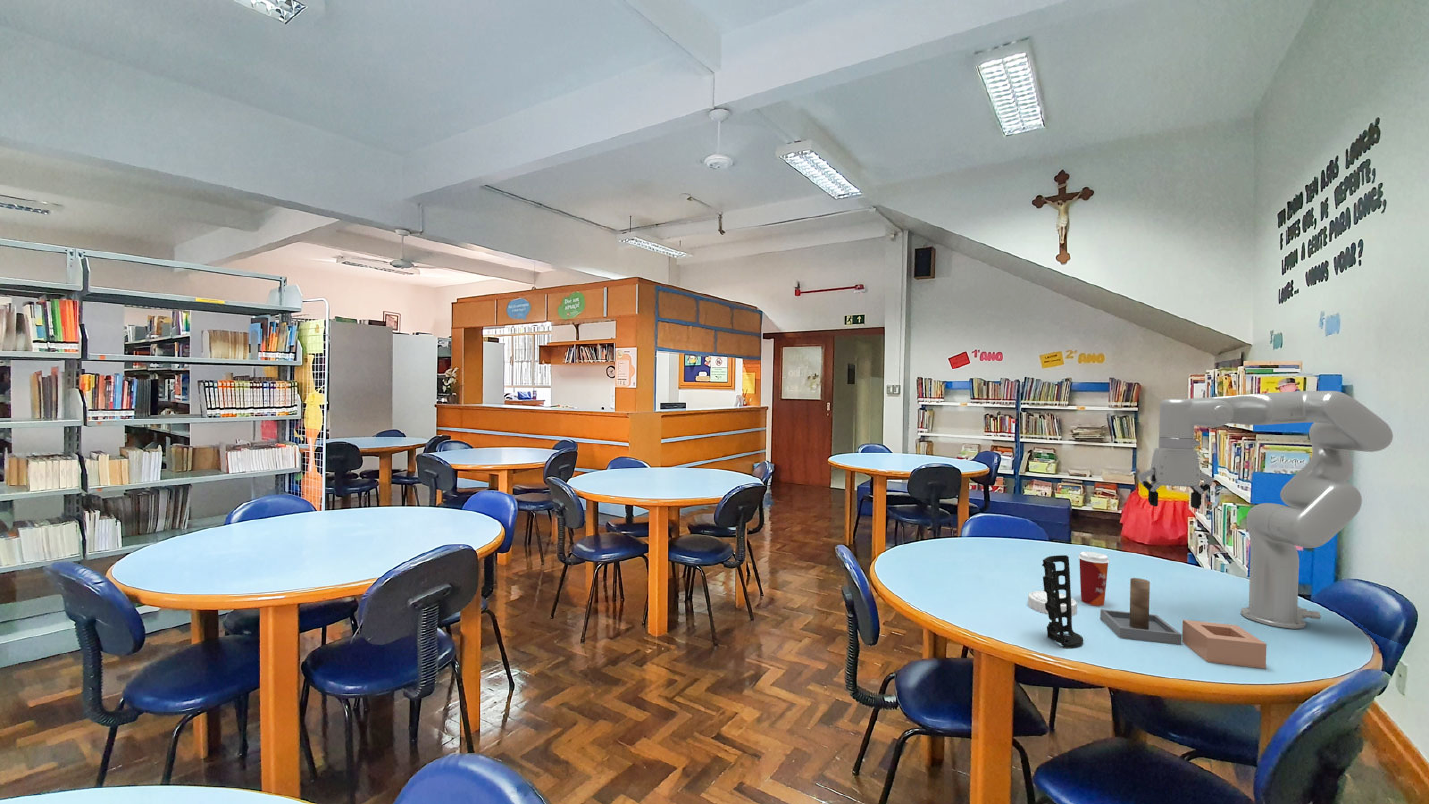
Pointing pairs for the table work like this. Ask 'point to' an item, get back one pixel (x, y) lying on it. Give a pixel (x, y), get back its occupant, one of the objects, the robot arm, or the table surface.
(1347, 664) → the table surface
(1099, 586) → the paper cup
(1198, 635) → the well block
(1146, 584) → the dowel pin
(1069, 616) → the holder
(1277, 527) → the robot arm
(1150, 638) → the tray
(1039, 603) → the mooncake
